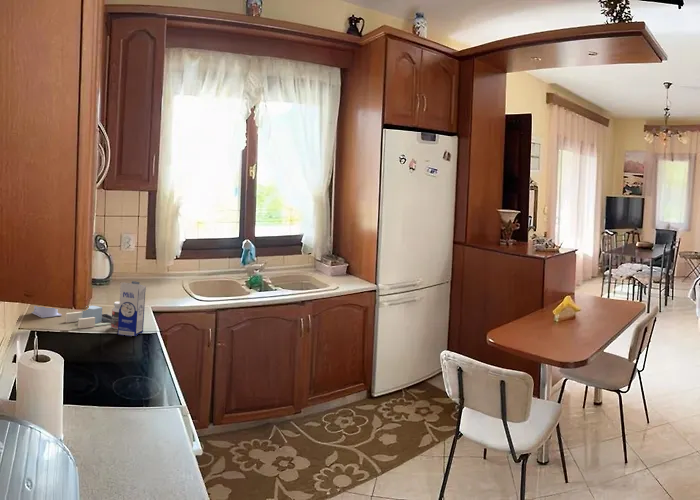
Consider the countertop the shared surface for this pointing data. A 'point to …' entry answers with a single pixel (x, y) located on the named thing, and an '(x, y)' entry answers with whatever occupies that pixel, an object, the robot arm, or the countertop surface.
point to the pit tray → (106, 318)
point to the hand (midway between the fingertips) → (64, 298)
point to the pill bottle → (115, 315)
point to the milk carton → (131, 309)
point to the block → (93, 313)
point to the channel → (82, 320)
